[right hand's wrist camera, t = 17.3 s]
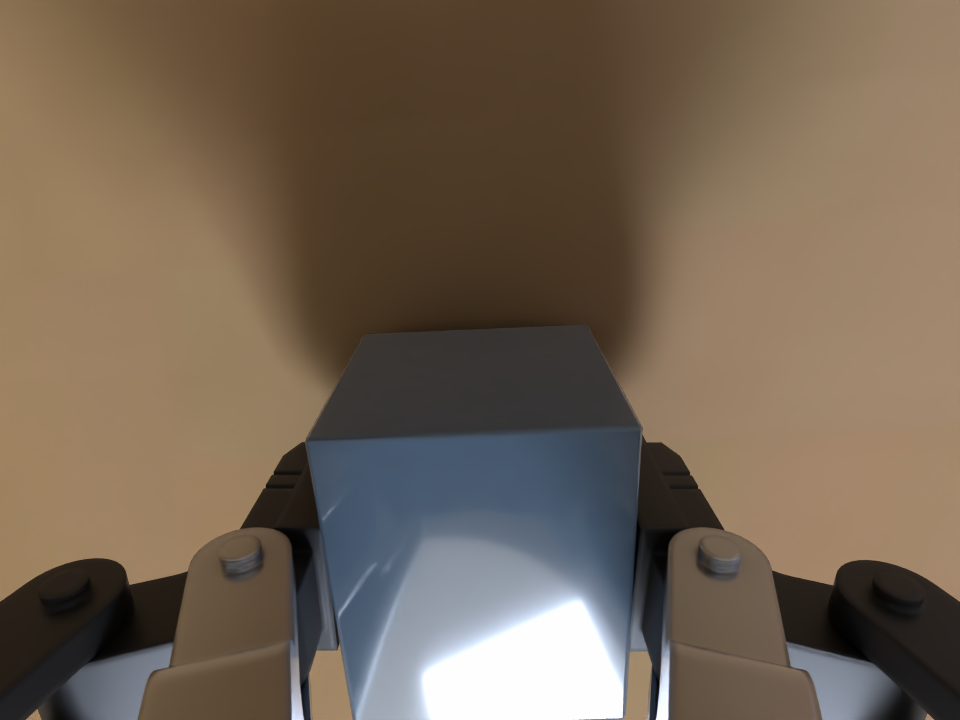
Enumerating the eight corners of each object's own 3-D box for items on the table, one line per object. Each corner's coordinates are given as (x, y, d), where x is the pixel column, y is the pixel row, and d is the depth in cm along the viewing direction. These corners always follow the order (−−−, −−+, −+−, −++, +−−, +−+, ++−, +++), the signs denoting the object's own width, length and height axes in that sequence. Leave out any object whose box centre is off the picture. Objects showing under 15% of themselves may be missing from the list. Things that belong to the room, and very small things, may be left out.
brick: (588, 323, 11) (644, 425, 8) (584, 546, 13) (627, 720, 9) (362, 332, 12) (302, 439, 8) (389, 553, 13) (352, 729, 10)
